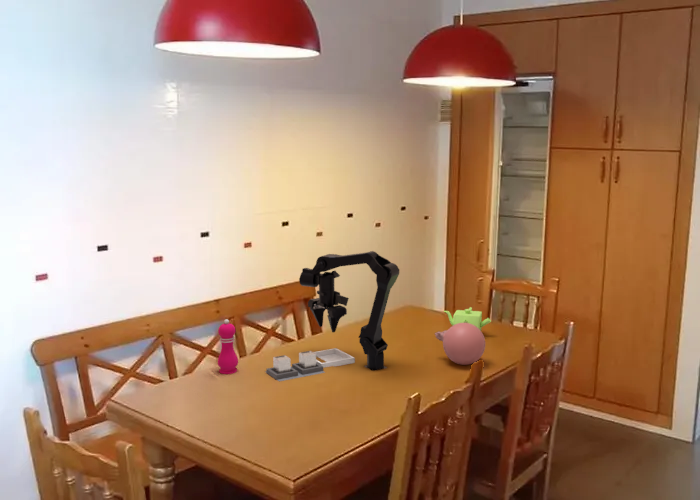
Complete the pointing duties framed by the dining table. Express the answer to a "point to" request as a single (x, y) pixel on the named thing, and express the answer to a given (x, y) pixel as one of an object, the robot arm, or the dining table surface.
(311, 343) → the dining table surface
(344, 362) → the white square tray
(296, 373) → the plate
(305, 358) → the billet loose
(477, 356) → the balloon
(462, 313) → the kettle
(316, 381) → the dining table surface
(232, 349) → the pepper mill
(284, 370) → the block
